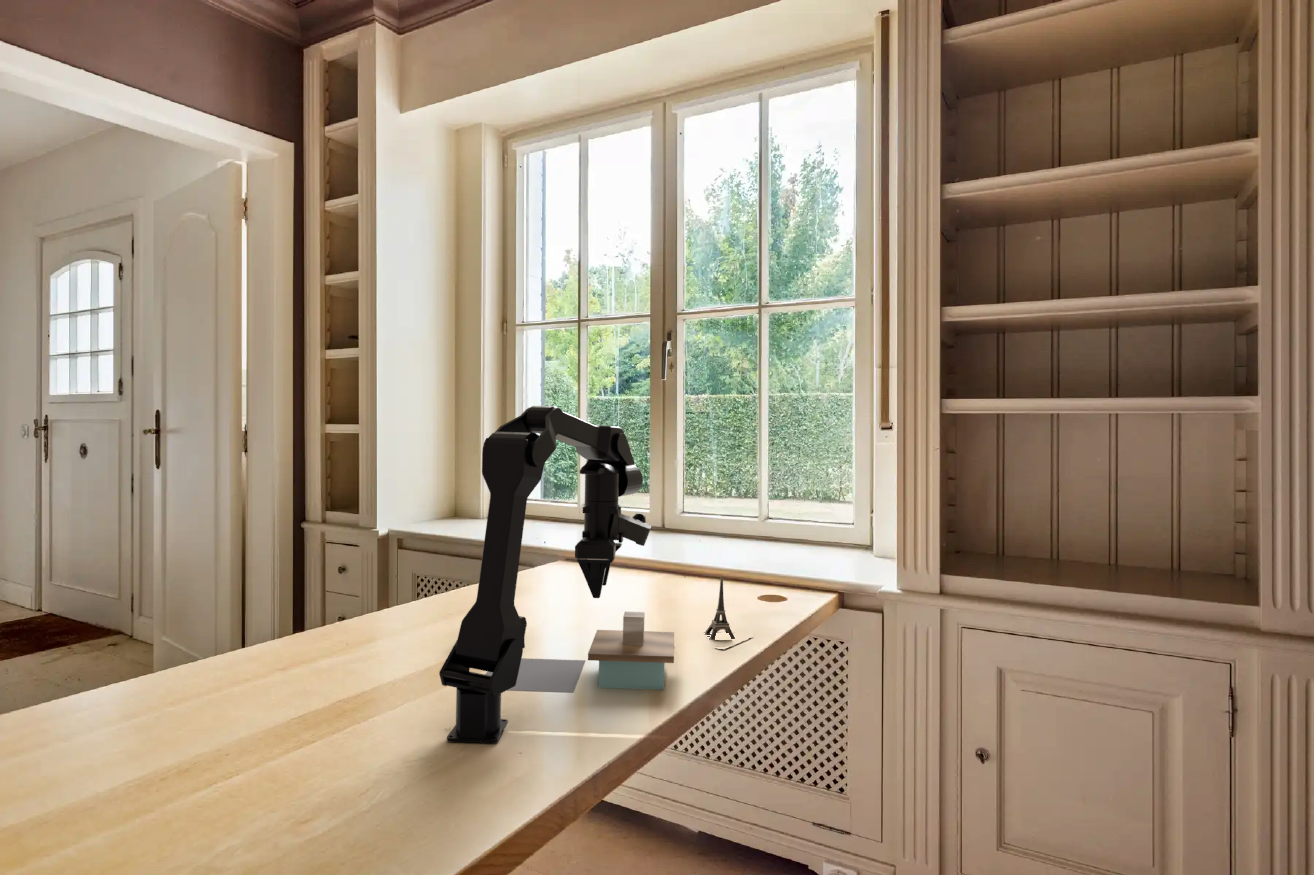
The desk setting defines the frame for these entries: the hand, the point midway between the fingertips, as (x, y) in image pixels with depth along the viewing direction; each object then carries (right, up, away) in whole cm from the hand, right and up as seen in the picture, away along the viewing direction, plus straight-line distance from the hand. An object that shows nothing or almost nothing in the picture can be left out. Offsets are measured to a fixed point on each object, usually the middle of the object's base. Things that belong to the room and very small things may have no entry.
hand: (599, 591), depth 126 cm
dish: (+6, -13, -8) cm, 16 cm away
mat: (-10, -12, -7) cm, 17 cm away
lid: (+6, -8, -8) cm, 12 cm away
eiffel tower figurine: (+22, -13, +17) cm, 31 cm away
